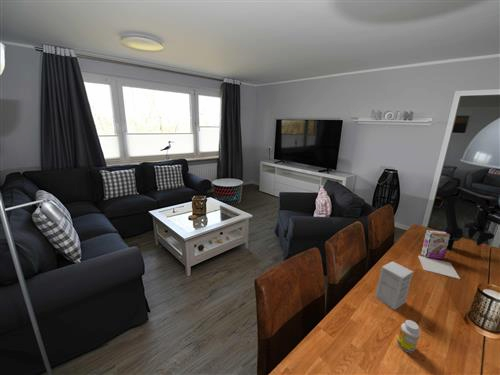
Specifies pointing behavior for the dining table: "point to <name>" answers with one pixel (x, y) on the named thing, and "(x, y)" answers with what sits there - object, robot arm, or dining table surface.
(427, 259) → the mat
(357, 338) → the dining table surface
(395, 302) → the supplement box
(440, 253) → the candy bar box
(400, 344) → the supplement bottle
